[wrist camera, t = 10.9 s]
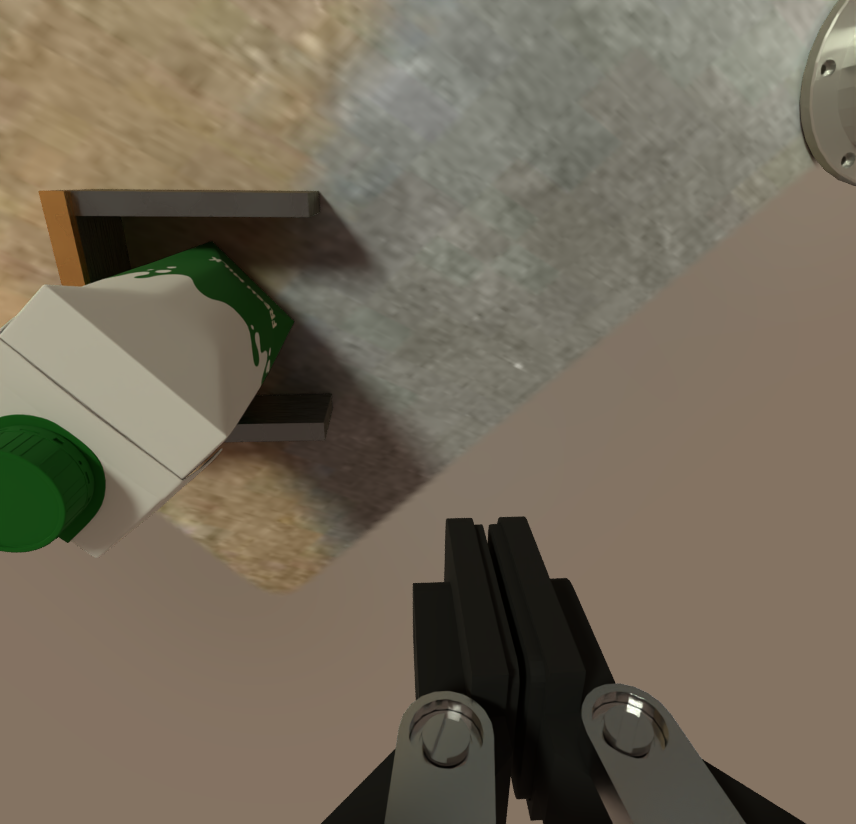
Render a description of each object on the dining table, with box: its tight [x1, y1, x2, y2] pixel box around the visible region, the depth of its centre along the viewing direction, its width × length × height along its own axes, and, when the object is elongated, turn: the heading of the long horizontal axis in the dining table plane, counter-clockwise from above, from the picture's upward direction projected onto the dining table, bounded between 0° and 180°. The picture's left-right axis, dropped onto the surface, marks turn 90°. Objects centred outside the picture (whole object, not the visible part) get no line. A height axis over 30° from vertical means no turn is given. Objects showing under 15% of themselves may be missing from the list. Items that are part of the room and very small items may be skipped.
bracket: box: [39, 189, 333, 442], centre depth 33 cm, size 13×14×6 cm
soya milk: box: [0, 241, 294, 558], centre depth 27 cm, size 9×9×20 cm
